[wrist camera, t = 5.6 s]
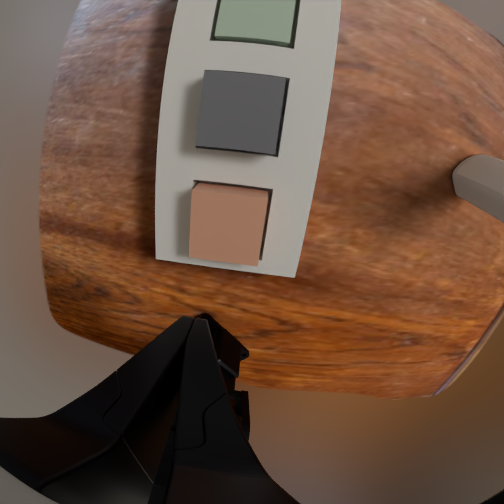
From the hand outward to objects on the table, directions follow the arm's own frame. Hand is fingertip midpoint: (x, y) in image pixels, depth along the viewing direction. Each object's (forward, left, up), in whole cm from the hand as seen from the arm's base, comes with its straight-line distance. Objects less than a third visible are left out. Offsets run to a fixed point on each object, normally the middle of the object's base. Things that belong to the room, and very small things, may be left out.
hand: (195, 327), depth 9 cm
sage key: (+10, +10, -12) cm, 18 cm away
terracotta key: (0, 0, -11) cm, 11 cm away
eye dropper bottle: (+19, -9, -13) cm, 25 cm away
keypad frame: (+5, +5, -13) cm, 14 cm away
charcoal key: (+5, +5, -11) cm, 13 cm away
